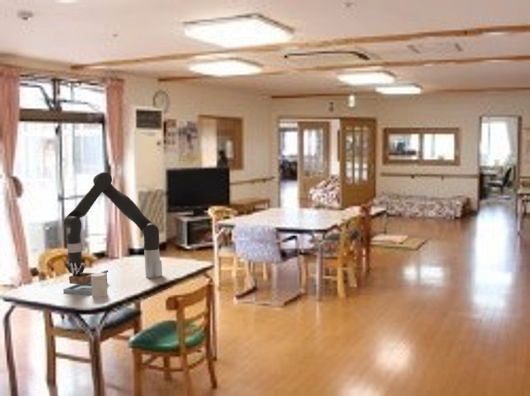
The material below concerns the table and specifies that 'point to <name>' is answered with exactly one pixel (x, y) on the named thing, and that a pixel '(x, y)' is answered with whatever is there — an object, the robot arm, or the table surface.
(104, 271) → the stake
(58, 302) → the table surface
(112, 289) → the table surface
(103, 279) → the cup
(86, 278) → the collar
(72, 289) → the tray
